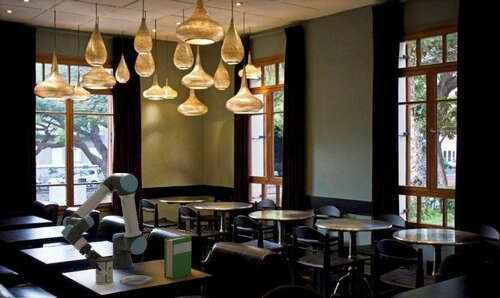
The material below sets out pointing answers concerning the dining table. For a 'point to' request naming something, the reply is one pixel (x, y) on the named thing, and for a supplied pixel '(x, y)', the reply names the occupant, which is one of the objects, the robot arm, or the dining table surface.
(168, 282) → the dining table surface
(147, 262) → the dining table surface
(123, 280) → the hub plate
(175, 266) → the hardback book
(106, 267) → the coffee can
